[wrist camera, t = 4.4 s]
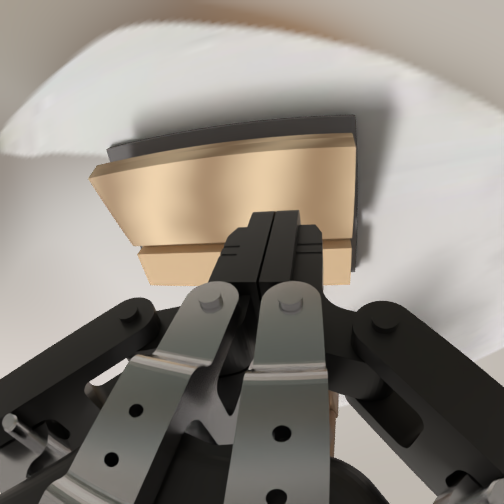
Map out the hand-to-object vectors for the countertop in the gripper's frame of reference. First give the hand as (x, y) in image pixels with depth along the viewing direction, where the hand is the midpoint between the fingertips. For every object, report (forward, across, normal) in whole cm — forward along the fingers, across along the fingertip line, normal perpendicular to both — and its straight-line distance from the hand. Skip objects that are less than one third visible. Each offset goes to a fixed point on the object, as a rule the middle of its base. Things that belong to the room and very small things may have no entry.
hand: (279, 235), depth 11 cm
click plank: (+9, +5, +2) cm, 10 cm away
